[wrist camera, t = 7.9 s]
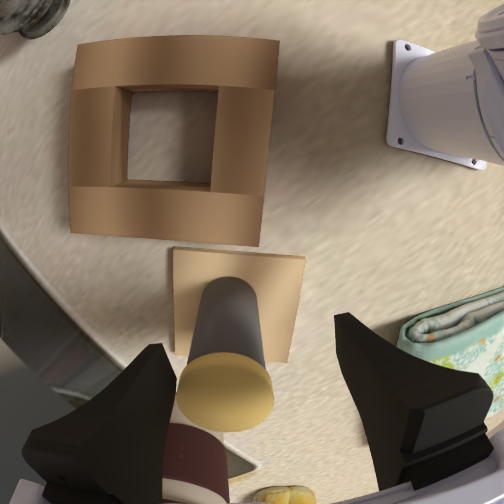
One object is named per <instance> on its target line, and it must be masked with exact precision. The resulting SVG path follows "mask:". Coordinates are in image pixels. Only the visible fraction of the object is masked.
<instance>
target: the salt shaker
mask: <svg viewBox="0 0 504 504" xmlns="http://www.w3.org/2000/svg"><path fill="white" fill-rule="evenodd" d="M69 3H70V0H0V34H1V35H4V34H10V33H12V32H18V31H19V33H20V34H21V35H22V36H23V37H25V38H28V39H34V38H38V37H41V36H43V35H44V34H46V33H48V32H49V31H50V30H52V29H53V28H54V27H55V26H56V25H57V24H58V23H59V21H60V20H61V19H62V18H63V16H64V14H65V13H66V11H67V9H68V6H69Z"/></svg>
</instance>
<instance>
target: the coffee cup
mask: <svg viewBox="0 0 504 504" xmlns="http://www.w3.org/2000/svg"><path fill="white" fill-rule="evenodd" d="M162 498H163V504H169V503H175V504H227V503H230V499H229V485H228V469H227V454H226V449H225V447H224V441H223V432H217V431H212V430H208V429H205V428H202V427H200V426H198V425H196V424H194V423H193V422H191V421H190V420H188V419H187V418H186V417H185V416H184V415H183V413H182V412H181V411H180V409H179V407H178V404H177V400H176V394H175V401H174V406H173V410H172V414H171V419H170V423H169V427H168V432H167V436H166V441H165V448H164V460H163V479H162Z"/></svg>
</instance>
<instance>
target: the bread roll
mask: <svg viewBox="0 0 504 504" xmlns="http://www.w3.org/2000/svg"><path fill="white" fill-rule="evenodd" d="M252 502H266V503H271V504H316V498H315V494H314V492H313V491H312V490H310V489H309V488H307V487H303V486H291V487H289V488H288V487H286V486H276V487H270V488H266V489H263V490H260V491H259V492H257V493H256V494H255V495H254V497H253V499H252Z"/></svg>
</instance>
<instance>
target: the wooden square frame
mask: <svg viewBox="0 0 504 504" xmlns="http://www.w3.org/2000/svg"><path fill="white" fill-rule="evenodd" d="M279 44H280V41H276V40H268V39H258V38H246V37H232V36H207V35H175V36H150V37H136V38H125V39H115V40H107V41H99V42H92V43H86V44H80V45H78V47H77V53H76V60H75V67H74V75H73V83H72V93H71V104H70V118H69V138H68V195H69V216H70V230H71V233H80V234H94V235H108V236H121V237H135V238H148V239H162V240H175V241H188V242H201V243H214V244H227V245H239V246H252V247H259V240H260V230H261V221H262V211H263V202H264V192H265V183H266V173H267V163H268V154H269V144H270V134H271V124H272V114H273V104H274V94H275V84H276V74H277V64H278V54H279ZM136 91H202V92H218V103H217V113H216V124H215V135H214V147H213V160H212V173H211V184H208V183H192V182H174V181H152V180H127V161H128V138H129V122H130V109H131V97H132V92H136Z"/></svg>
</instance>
